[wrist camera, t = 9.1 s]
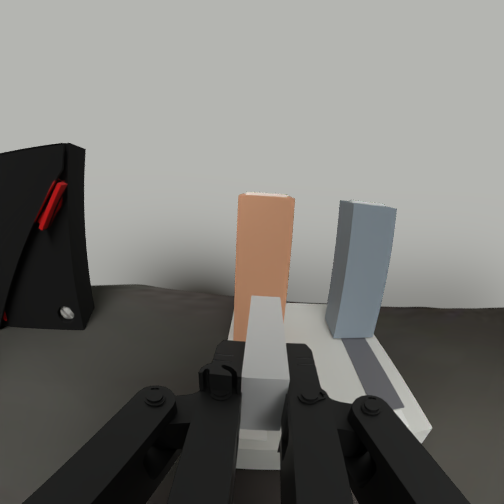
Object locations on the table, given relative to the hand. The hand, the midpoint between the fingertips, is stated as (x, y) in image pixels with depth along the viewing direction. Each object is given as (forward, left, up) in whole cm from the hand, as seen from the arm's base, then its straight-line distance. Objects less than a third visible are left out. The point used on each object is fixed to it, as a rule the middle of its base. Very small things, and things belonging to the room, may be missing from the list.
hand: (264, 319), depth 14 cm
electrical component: (+18, +24, -9) cm, 31 cm away
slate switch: (+6, -12, -6) cm, 14 cm away
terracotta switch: (+8, -3, -6) cm, 10 cm away
